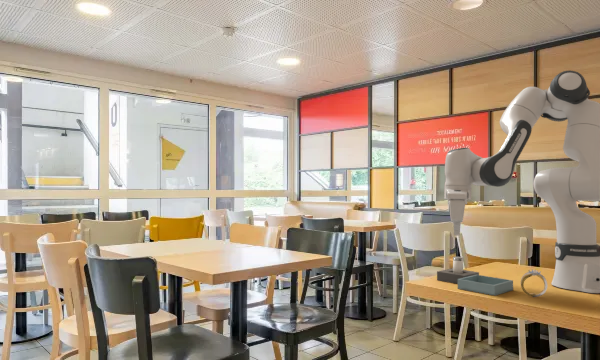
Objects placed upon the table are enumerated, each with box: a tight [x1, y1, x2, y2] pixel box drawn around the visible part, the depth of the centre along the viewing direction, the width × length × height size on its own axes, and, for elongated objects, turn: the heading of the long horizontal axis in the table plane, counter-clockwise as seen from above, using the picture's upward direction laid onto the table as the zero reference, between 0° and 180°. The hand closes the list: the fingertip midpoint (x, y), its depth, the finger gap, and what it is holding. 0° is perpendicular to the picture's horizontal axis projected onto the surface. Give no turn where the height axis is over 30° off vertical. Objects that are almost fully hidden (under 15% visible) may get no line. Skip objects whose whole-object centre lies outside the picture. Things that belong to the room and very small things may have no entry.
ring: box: [520, 269, 548, 298], centre depth 131 cm, size 7×3×8 cm, turn 68°
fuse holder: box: [436, 267, 480, 285], centre depth 155 cm, size 10×10×3 cm
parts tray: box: [457, 274, 514, 297], centre depth 141 cm, size 12×12×3 cm
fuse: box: [452, 256, 464, 274], centre depth 155 cm, size 3×3×8 cm
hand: (457, 234), depth 155 cm, fingers open, 8 cm apart
